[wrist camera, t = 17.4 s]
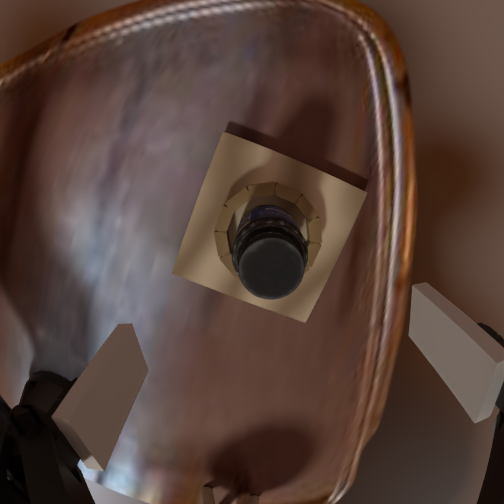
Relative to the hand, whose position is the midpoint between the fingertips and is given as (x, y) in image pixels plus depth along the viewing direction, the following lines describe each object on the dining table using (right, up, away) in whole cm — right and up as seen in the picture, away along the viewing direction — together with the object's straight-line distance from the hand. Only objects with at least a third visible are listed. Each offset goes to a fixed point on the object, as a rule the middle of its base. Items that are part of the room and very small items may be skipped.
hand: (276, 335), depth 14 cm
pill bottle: (0, +6, +19) cm, 20 cm away
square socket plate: (+1, +6, +20) cm, 21 cm away
